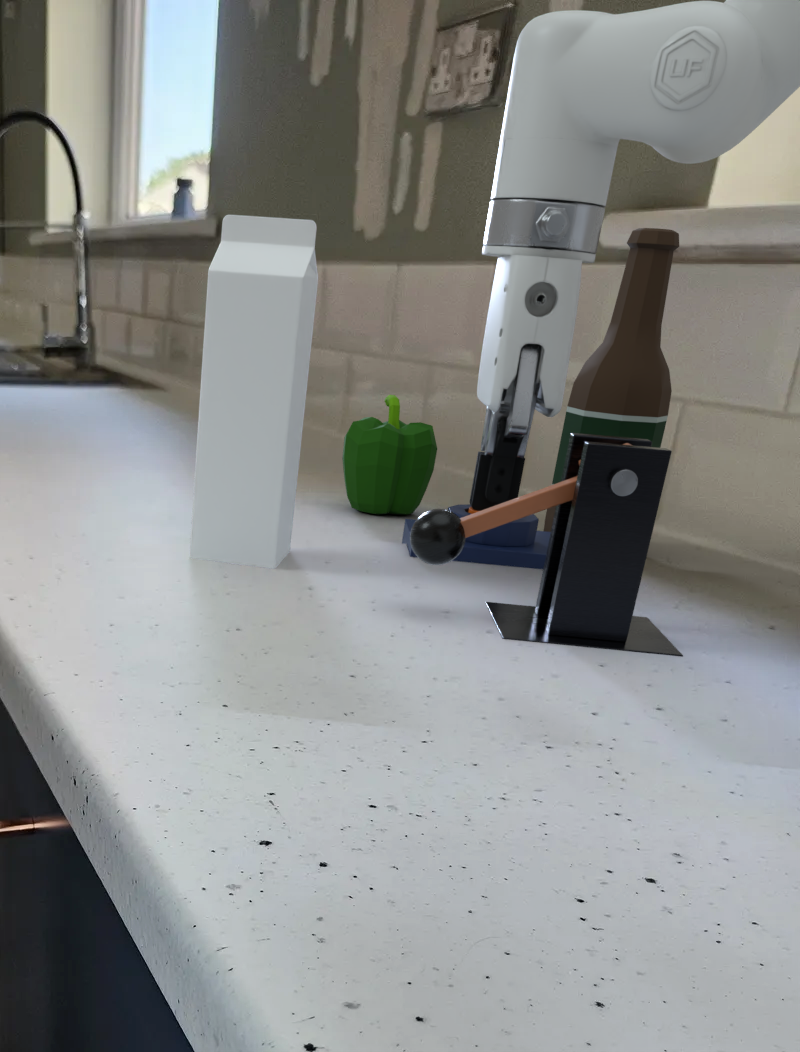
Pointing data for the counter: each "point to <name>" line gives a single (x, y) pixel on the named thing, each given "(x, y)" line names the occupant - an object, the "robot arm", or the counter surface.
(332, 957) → the counter surface
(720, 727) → the counter surface
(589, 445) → the bracket
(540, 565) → the control block
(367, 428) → the bell pepper
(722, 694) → the counter surface
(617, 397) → the beer bottle
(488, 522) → the lever
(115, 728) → the counter surface
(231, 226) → the milk
